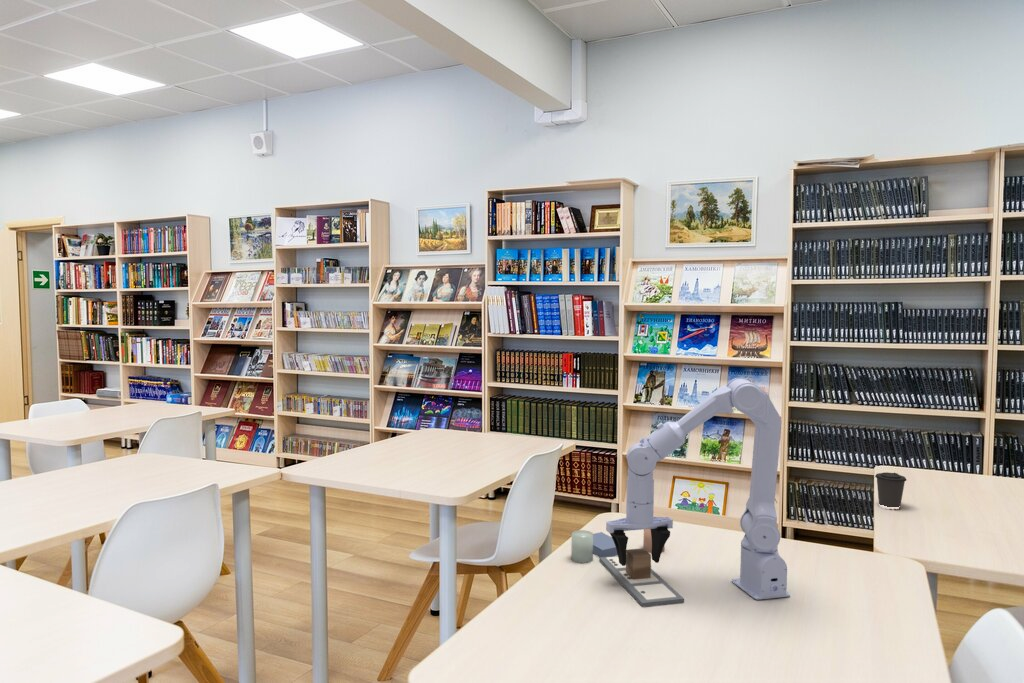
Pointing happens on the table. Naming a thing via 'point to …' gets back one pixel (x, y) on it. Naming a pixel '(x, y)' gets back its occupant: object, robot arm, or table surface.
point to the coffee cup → (890, 489)
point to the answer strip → (643, 585)
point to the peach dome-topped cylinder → (648, 541)
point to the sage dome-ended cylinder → (582, 546)
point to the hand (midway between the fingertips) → (638, 562)
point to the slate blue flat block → (603, 545)
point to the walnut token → (638, 563)
